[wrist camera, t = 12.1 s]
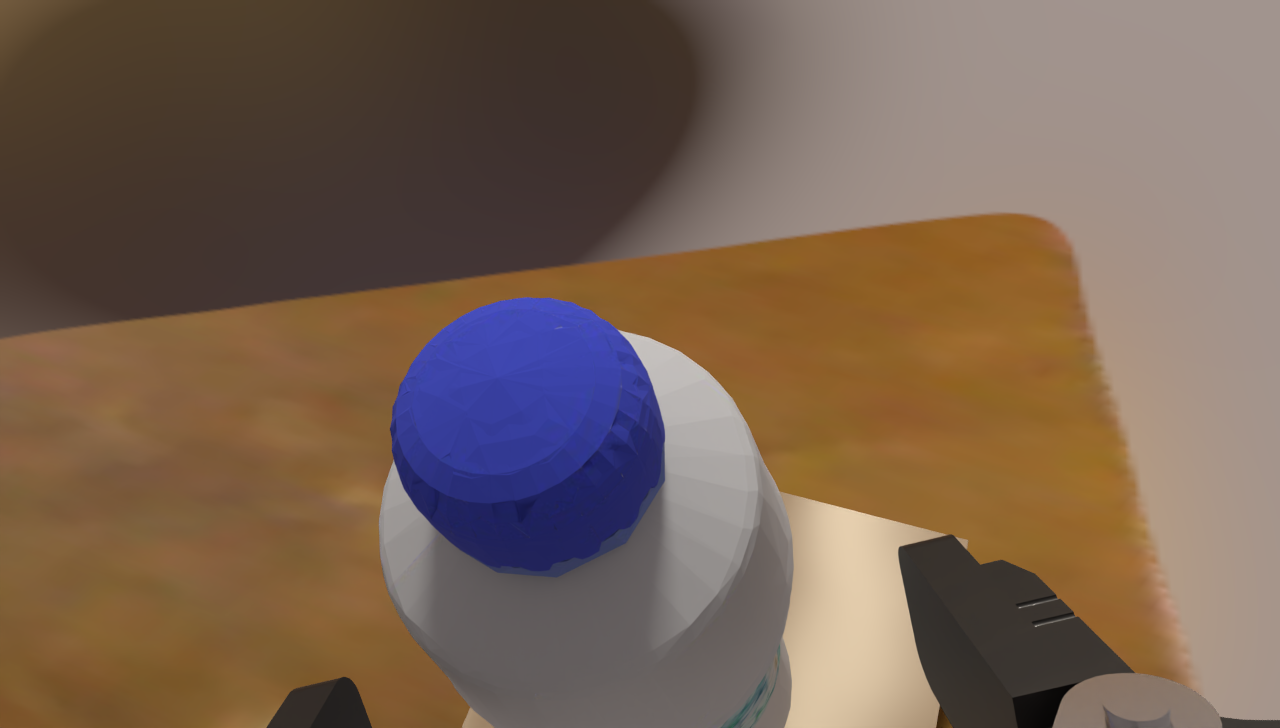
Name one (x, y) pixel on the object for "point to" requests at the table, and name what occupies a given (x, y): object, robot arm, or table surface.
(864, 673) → the birch stand
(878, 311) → the table surface
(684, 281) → the table surface
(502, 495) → the bottle
